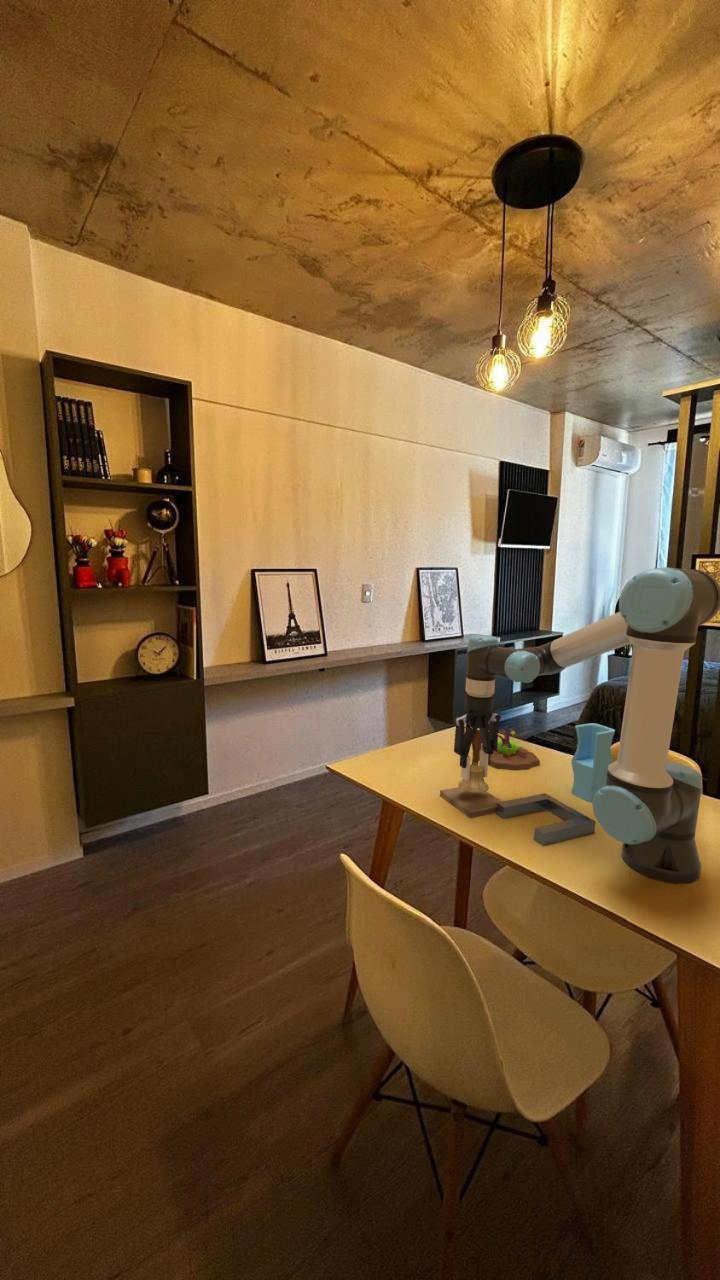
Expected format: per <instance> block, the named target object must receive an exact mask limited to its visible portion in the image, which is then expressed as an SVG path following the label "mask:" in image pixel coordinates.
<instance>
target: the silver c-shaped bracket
mask: <svg viewBox="0 0 720 1280" xmlns="http://www.w3.org/2000/svg"><path fill="white" fill-rule="evenodd" d="M546 810H547V811H548V812H550V813H552V814H553V815H555V816H557V817H559V818H561V820H563V821H559V822H553V823H549V824H544V825H540V826H535V827H534V831H533V833H534V834H533V840H534V841H535V842H537V843H538V844H540V845H541V846H547V845H551V844H556V843H559V842H562V841H566V840H571V839H575V838H579V837H583V836H587V835H591V834H594V833H595V830H596V820H594V819H592V818H590V817H589V816H586V815H585V814H583V813H581V812H579V811H578V810H576V809H574V808H572V807H571V806H569V805H567V804H565V803H564V802H561V801H560V800H558V799H556V798H554V797H552V796H551V795H550V794H547V793H546V792H545V793H540V794H534V795H530V796H524V797H519V798H513V799H508V800H503V801H502V802H498V803H497V806H496V813H495V814H496V815H498V816H499V817H501V818H502V819H504V820H505V819H508V818H513V817H518V816H522V815H527V814H532V813H535V812H536V813H537V812H541V811H546Z"/></svg>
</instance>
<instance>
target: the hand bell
mask: <svg viewBox="0 0 720 1280" xmlns="http://www.w3.org/2000/svg"><path fill="white" fill-rule="evenodd" d="M481 746H482V737H481V733H480V729H477V731H476V733H475V734H474V737H473V740H472V744H471V748H472V749H471V750H472V759H471V763H470V774H469V780H468V781H467V780H465V779H464V778H462V777H461V779H460V780H459V781H458V783H457V787H460V788H461V789H463V790H465V791H468V792H472V793H482V792H488V791H489V789H490V787H489V785H488V783H487V782H486V781H485V777H483V769H482V767H480V766H479V763H480V761H479V760H478V759H479V751H480V749H481Z"/></svg>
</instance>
